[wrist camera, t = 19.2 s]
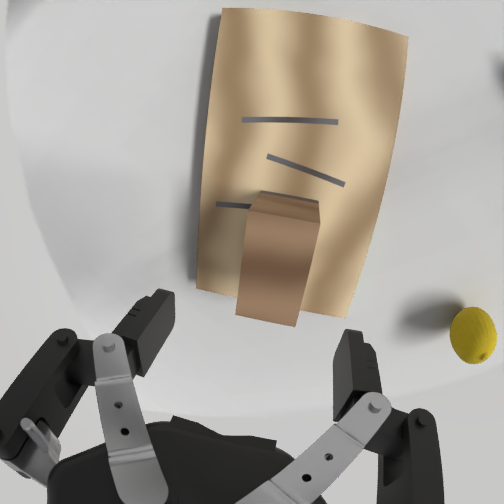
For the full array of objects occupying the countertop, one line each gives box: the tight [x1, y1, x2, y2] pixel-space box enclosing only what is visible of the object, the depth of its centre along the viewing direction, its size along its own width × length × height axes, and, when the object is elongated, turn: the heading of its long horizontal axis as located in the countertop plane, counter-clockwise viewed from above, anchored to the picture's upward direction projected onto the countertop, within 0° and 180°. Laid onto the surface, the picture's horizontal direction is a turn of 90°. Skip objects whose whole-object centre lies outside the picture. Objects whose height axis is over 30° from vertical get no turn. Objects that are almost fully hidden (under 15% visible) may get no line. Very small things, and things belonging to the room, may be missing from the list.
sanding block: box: [235, 190, 320, 327], centre depth 25 cm, size 9×5×6 cm, turn 173°
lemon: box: [450, 307, 497, 364], centre depth 25 cm, size 6×6×8 cm
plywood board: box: [196, 8, 408, 318], centre depth 25 cm, size 16×28×2 cm, turn 173°
